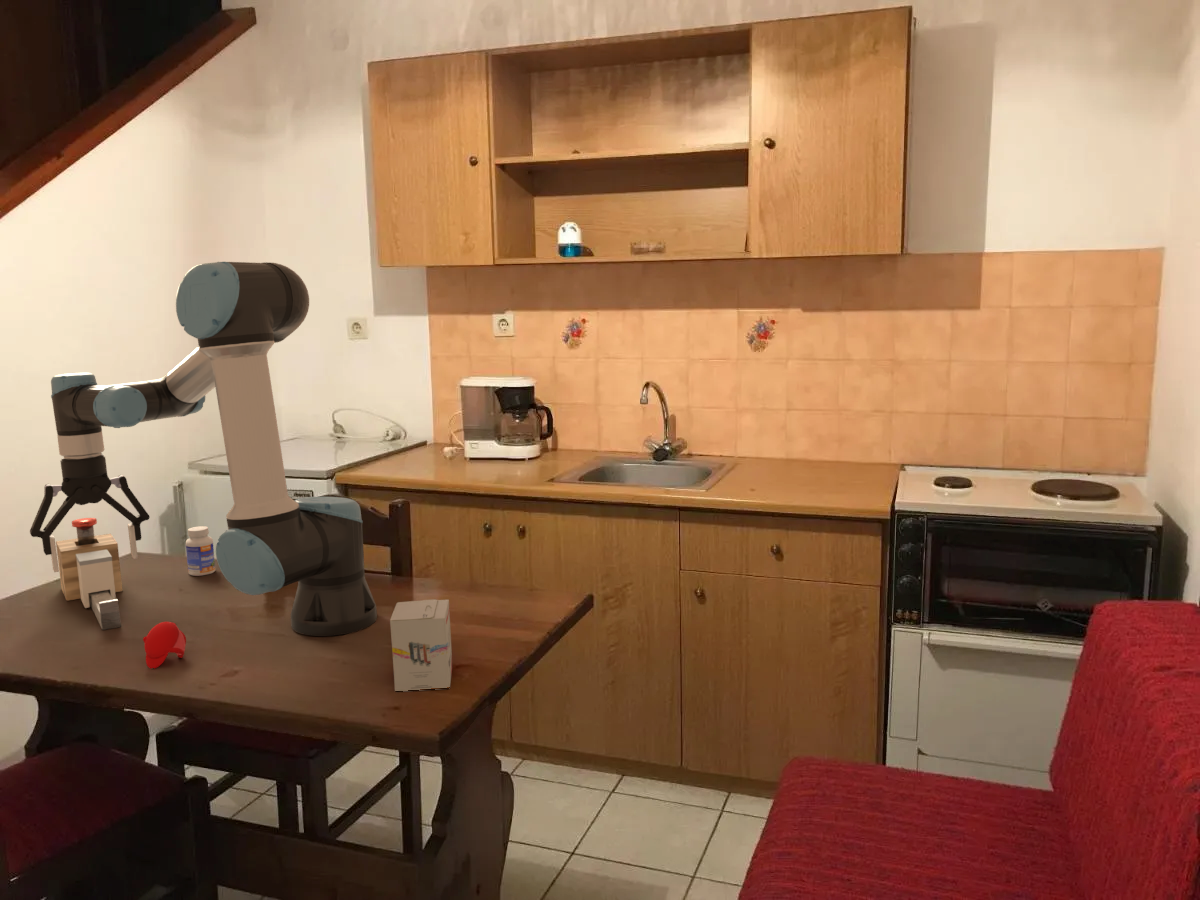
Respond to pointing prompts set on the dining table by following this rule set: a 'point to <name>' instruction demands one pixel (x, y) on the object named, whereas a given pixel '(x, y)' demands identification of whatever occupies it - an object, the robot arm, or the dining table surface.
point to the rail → (105, 609)
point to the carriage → (95, 574)
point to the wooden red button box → (69, 562)
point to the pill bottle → (200, 552)
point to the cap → (163, 643)
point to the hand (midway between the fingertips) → (96, 563)
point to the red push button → (85, 530)
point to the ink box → (421, 645)
